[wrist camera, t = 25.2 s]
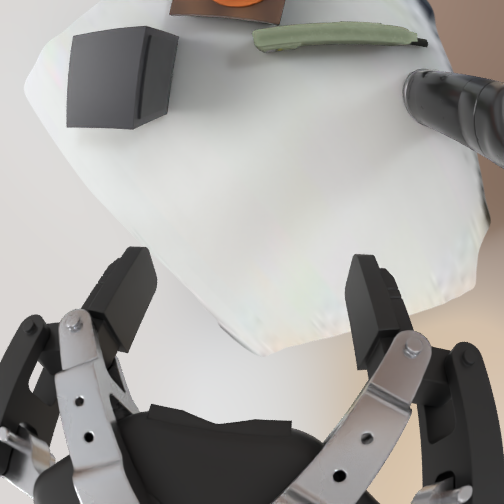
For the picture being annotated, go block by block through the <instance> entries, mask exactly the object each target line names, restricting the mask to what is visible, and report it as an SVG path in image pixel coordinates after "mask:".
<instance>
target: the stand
mask: <svg viewBox="0 0 504 504" xmlns="http://www.w3.org/2000/svg"><path fill="white" fill-rule="evenodd" d="M284 3H285V0H263V1H261V2H259V3H257V4H254V5H251V6H246V7H228V6H223V5H221V4H218V3H216V2H214V1H213V0H173V1H172V5H171V9H170V13H169V15H171V16H205V17H220V18H231V19H240V20H248V21H255V22H261V23H267V24H272V25H277V26H279V24H280V20H281V15H282V11H283V7H284Z"/></svg>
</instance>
